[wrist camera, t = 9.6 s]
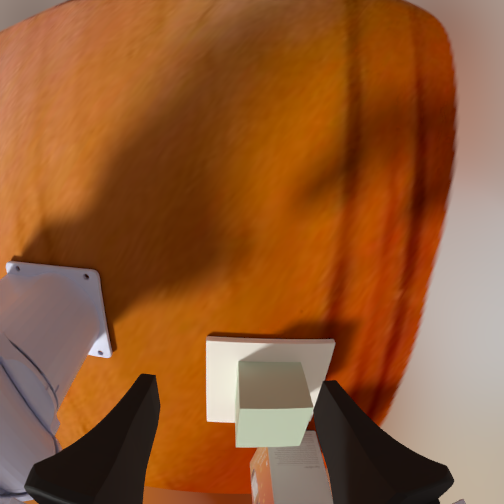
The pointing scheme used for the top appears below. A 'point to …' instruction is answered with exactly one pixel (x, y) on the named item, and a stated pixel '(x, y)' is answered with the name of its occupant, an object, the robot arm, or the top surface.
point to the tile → (258, 350)
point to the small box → (290, 474)
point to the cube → (271, 404)
